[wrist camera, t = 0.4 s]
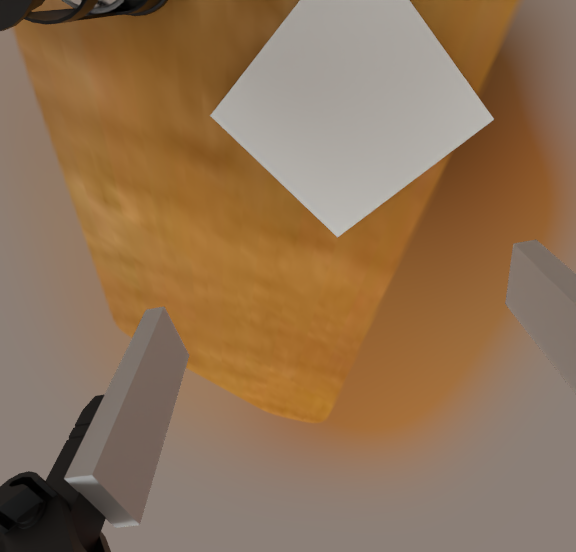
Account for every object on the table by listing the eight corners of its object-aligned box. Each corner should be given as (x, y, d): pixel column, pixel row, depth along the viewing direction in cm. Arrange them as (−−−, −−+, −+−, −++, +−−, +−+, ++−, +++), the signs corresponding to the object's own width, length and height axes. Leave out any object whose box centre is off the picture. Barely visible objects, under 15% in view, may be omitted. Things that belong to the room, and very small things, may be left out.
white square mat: (357, -72, 27) (357, -74, 26) (490, 116, 33) (494, 119, 32) (213, 112, 37) (210, 115, 36) (337, 232, 43) (337, 237, 42)
